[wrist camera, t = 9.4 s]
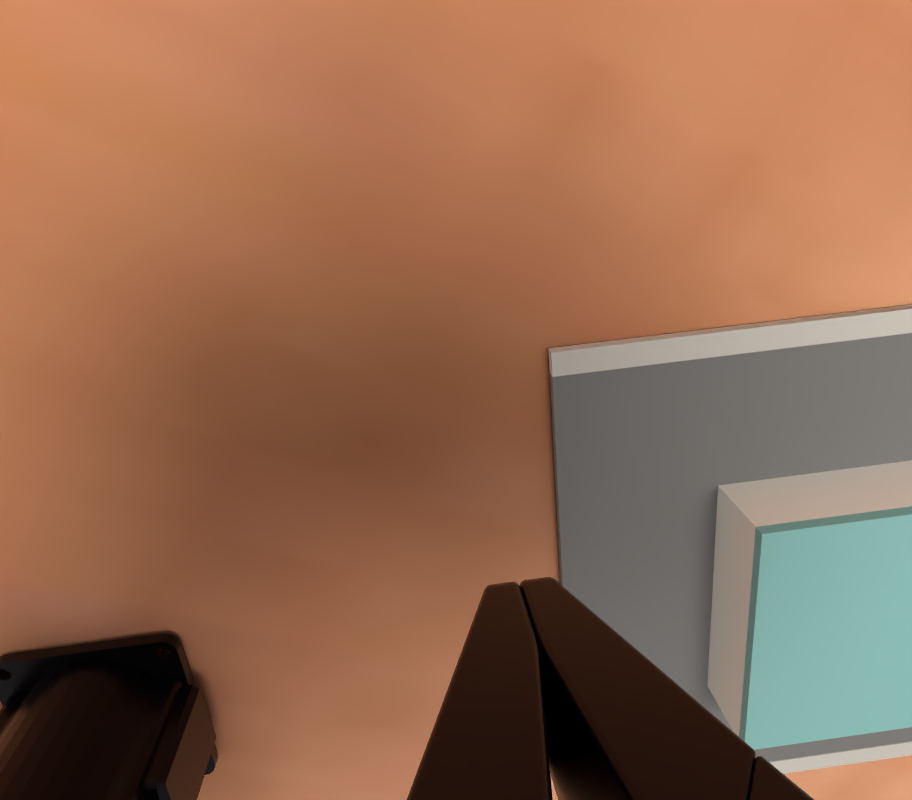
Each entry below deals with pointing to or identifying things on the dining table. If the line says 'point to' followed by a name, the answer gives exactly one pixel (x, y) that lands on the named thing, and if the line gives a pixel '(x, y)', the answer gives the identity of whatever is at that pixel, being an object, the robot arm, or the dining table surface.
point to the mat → (713, 469)
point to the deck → (813, 605)
